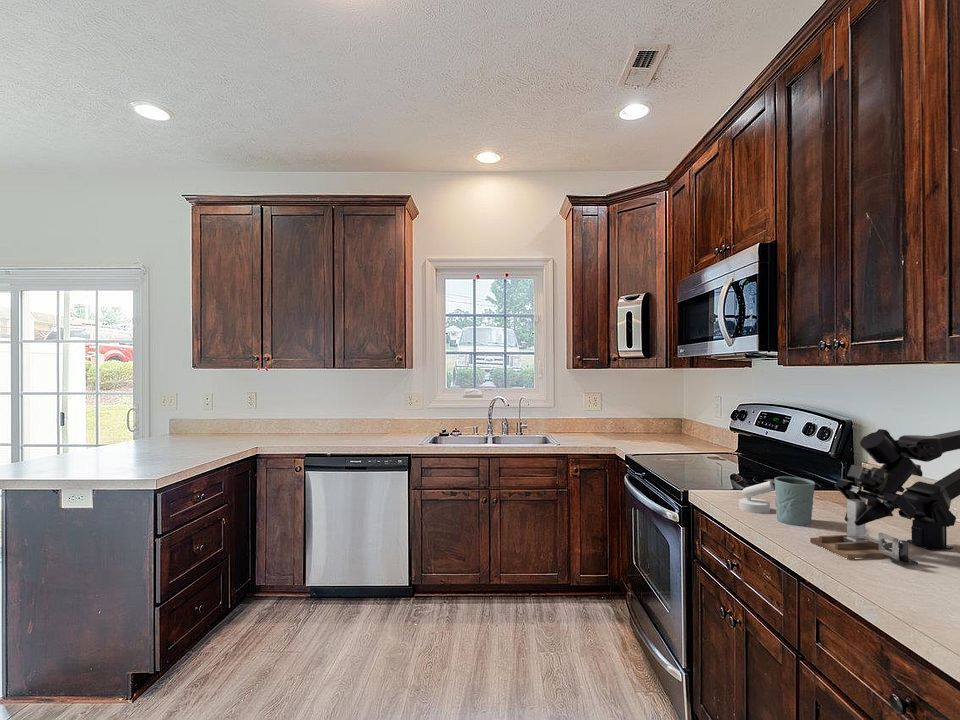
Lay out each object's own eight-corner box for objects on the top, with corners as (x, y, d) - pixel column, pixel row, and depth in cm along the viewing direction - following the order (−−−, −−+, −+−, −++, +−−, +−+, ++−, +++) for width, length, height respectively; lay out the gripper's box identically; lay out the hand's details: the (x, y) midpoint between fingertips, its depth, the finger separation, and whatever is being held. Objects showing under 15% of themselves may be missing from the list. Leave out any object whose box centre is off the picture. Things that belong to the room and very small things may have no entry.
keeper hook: (903, 559, 124) (903, 538, 124) (918, 564, 121) (917, 543, 121) (876, 560, 124) (876, 539, 124) (890, 566, 120) (889, 544, 120)
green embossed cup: (776, 514, 161) (776, 475, 161) (816, 520, 155) (816, 479, 155) (772, 523, 153) (772, 481, 153) (814, 529, 147) (813, 485, 147)
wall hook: (771, 484, 160) (735, 479, 166) (771, 515, 160) (735, 510, 166) (777, 479, 167) (742, 474, 173) (777, 509, 167) (742, 504, 173)
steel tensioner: (857, 540, 133) (857, 498, 133) (904, 559, 120) (904, 512, 120) (843, 541, 132) (842, 498, 132) (888, 560, 119) (888, 513, 120)
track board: (856, 540, 137) (856, 530, 137) (898, 557, 125) (898, 546, 125) (810, 542, 136) (810, 532, 136) (847, 559, 124) (847, 548, 124)
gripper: (840, 448, 141) (802, 491, 139) (904, 460, 122) (860, 510, 121) (867, 477, 142) (830, 520, 140) (935, 494, 123) (892, 544, 122)
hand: (851, 522), depth 131 cm, fingers closed on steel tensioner, 3 cm apart
